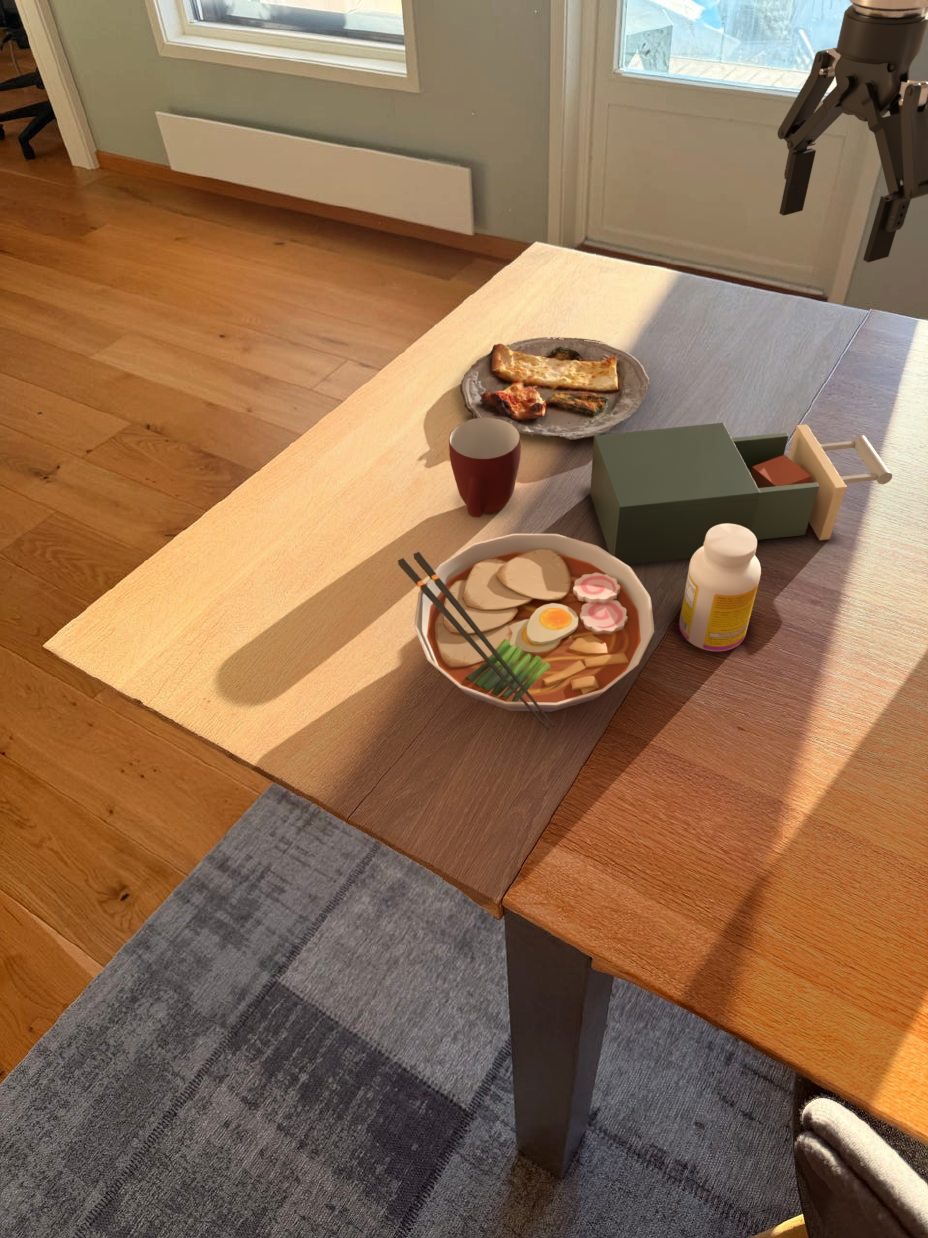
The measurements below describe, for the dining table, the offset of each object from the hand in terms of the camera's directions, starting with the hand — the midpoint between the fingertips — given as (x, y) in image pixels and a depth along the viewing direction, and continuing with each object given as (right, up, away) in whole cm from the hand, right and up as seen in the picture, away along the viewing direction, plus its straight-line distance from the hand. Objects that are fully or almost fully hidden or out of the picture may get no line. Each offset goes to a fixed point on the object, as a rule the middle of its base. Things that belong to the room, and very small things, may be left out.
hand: (831, 234), depth 99 cm
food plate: (-28, -12, +25) cm, 39 cm away
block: (-5, -29, +4) cm, 30 cm away
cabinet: (-17, -32, +5) cm, 37 cm away
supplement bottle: (-15, -44, -6) cm, 47 cm away
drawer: (-4, -30, +5) cm, 30 cm away
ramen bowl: (-33, -47, -8) cm, 58 cm away
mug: (-38, -30, +8) cm, 49 cm away
